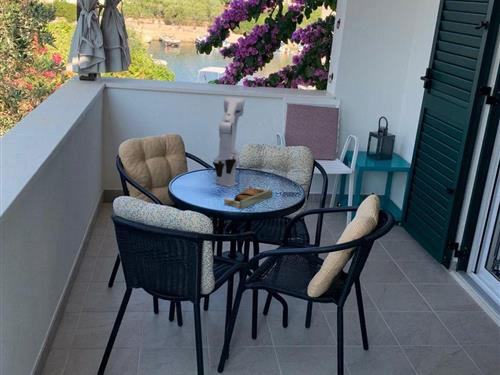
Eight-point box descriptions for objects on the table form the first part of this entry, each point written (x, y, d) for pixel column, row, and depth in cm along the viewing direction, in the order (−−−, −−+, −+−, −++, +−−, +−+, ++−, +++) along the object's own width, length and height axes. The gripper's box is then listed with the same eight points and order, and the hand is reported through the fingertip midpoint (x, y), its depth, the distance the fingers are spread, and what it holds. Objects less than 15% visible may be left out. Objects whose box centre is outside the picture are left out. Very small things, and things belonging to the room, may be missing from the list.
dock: (224, 204, 259) (224, 196, 258) (254, 192, 280) (255, 185, 279) (242, 209, 254) (242, 201, 253) (272, 196, 274) (272, 189, 273)
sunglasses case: (251, 205, 260) (244, 191, 259) (238, 210, 263) (232, 197, 262) (264, 195, 276) (259, 182, 276) (252, 200, 279) (247, 187, 279)
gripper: (223, 151, 260) (221, 179, 264) (241, 146, 272) (239, 173, 276) (210, 148, 264) (209, 176, 268) (229, 143, 275) (227, 171, 279)
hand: (223, 175), depth 272 cm, fingers open, 7 cm apart
